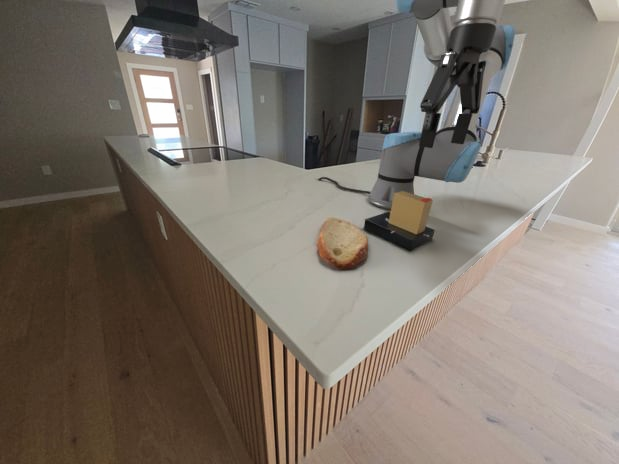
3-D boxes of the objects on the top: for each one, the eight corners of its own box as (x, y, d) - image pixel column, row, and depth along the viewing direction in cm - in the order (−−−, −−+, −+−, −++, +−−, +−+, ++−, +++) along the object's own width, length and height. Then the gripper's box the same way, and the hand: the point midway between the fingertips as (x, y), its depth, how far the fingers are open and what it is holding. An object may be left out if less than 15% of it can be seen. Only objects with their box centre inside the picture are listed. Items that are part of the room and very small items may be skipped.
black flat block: (360, 230, 68) (362, 219, 66) (388, 220, 75) (390, 210, 73) (411, 255, 57) (414, 242, 56) (438, 241, 64) (441, 229, 63)
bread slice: (334, 221, 72) (335, 209, 70) (391, 246, 60) (394, 232, 59) (284, 240, 61) (284, 226, 59) (342, 275, 49) (344, 259, 47)
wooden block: (388, 222, 65) (394, 192, 62) (396, 219, 67) (402, 189, 64) (416, 234, 60) (425, 201, 56) (424, 231, 62) (433, 199, 58)
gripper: (481, 40, 57) (453, 140, 66) (417, 16, 43) (394, 145, 53) (521, 35, 51) (484, 144, 61) (462, 5, 38) (427, 151, 48)
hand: (442, 145), depth 57 cm, fingers open, 13 cm apart
